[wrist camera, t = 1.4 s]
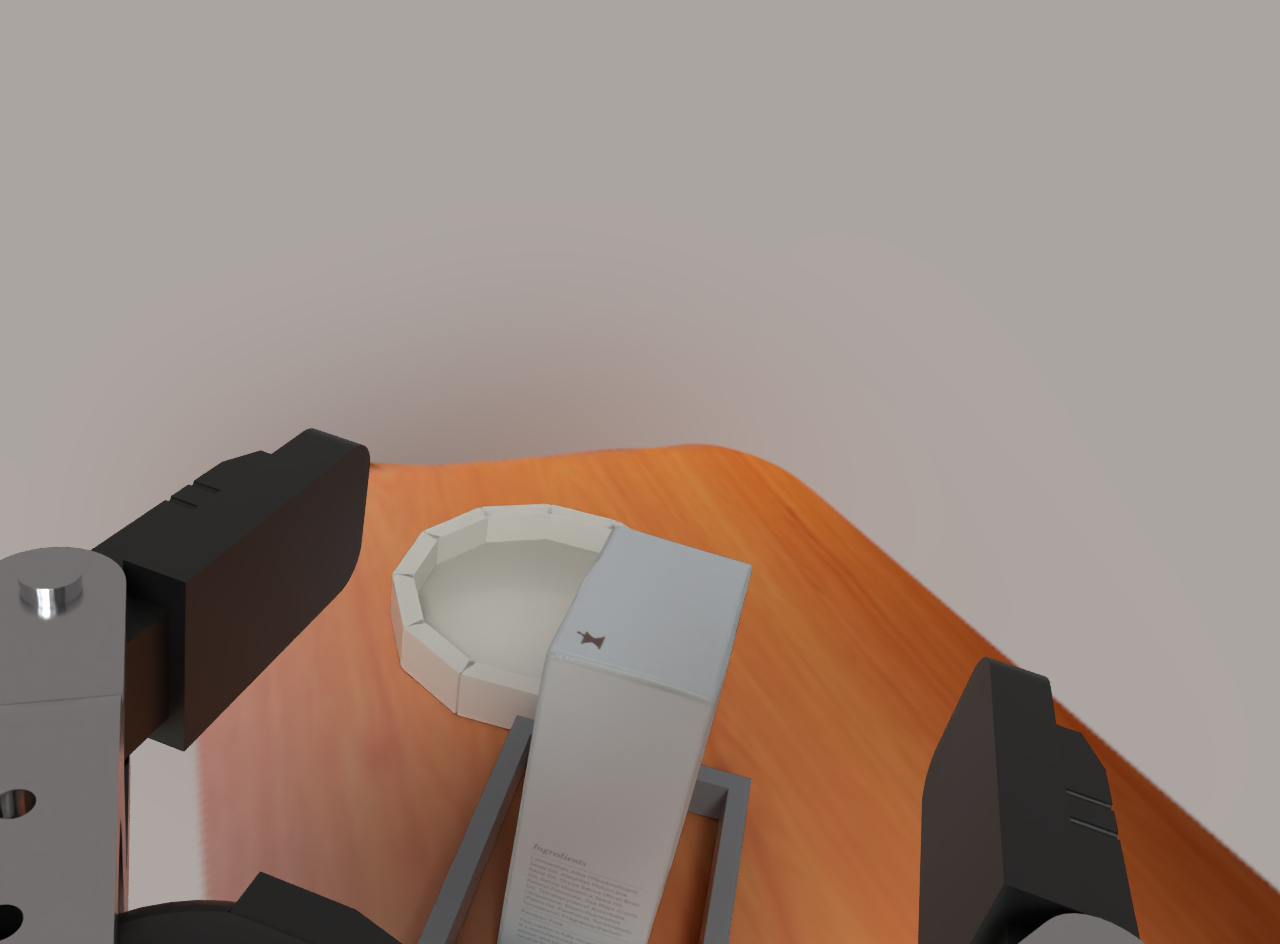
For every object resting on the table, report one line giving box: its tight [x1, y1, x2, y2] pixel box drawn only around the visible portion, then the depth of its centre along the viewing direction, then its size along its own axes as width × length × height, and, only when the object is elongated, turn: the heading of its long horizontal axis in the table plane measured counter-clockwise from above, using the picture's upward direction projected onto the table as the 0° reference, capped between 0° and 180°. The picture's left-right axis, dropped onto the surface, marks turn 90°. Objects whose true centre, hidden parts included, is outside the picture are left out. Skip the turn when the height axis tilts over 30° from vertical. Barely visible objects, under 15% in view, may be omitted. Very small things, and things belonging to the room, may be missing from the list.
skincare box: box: [497, 526, 752, 944], centre depth 29 cm, size 6×4×12 cm
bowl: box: [390, 504, 629, 729], centre depth 43 cm, size 12×12×2 cm
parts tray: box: [418, 715, 751, 944], centre depth 32 cm, size 8×10×2 cm
